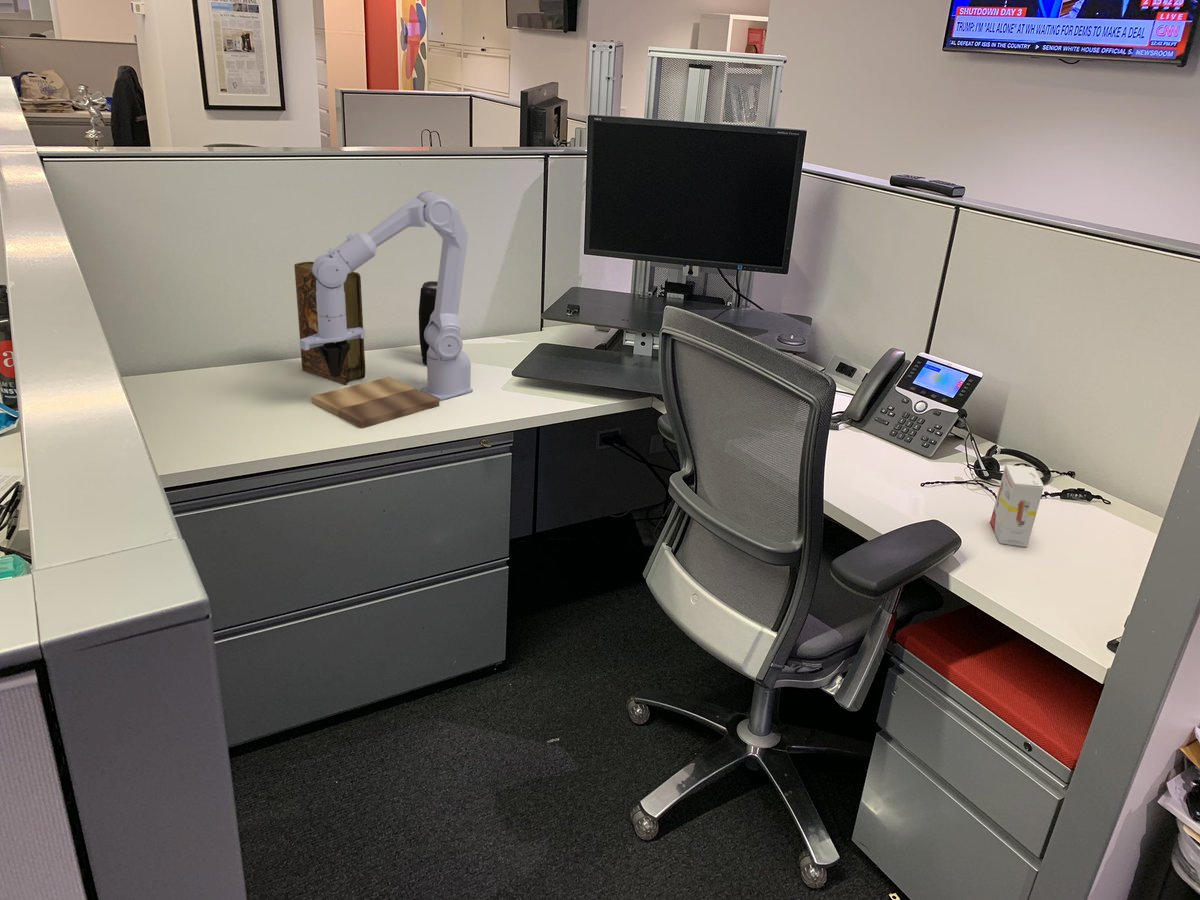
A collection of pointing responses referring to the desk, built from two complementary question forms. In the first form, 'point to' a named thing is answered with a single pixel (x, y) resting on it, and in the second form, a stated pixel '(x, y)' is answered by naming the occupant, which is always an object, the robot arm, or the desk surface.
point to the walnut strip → (388, 408)
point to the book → (309, 326)
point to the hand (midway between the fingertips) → (335, 375)
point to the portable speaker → (426, 313)
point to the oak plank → (359, 394)
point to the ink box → (1016, 505)
